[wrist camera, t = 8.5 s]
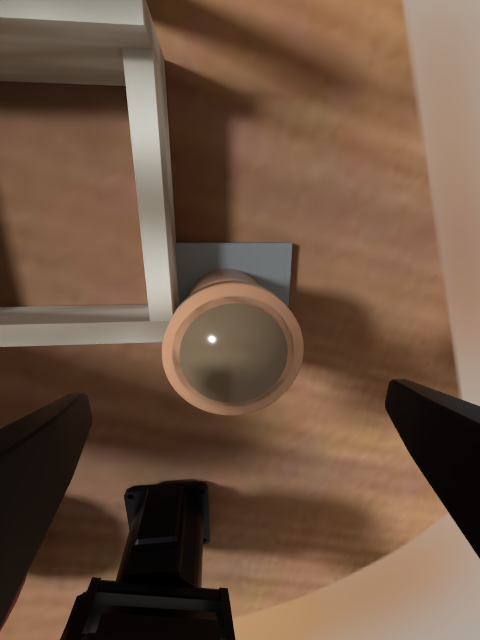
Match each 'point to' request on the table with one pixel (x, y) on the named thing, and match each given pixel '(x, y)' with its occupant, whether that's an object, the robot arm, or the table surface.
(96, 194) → the table surface
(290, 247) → the pad
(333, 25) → the table surface
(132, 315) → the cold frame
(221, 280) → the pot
